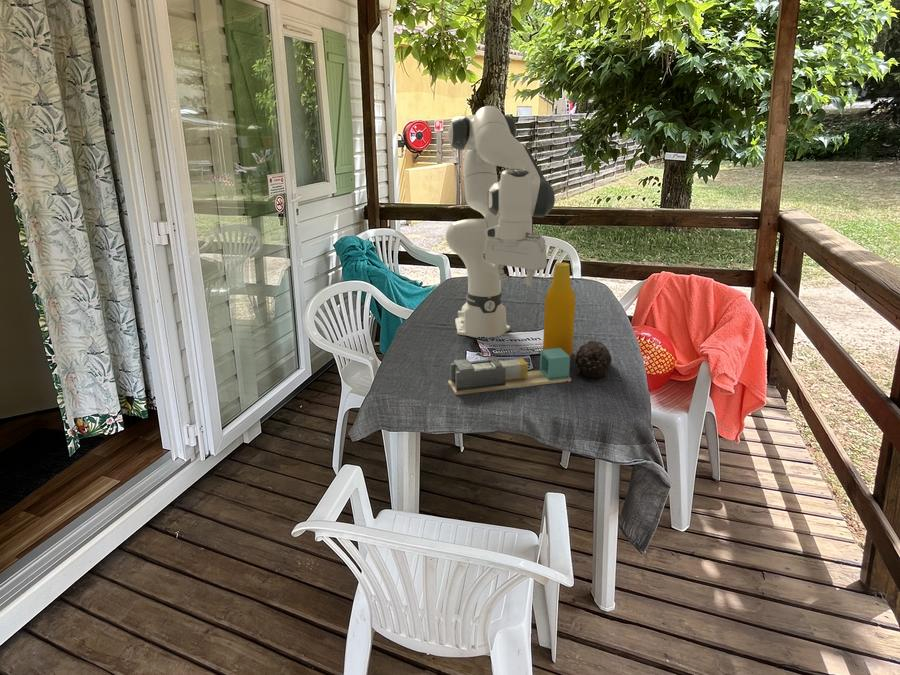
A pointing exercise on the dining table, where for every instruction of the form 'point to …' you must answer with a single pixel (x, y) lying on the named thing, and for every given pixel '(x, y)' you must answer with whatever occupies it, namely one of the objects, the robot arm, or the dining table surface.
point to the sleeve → (477, 374)
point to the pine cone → (593, 361)
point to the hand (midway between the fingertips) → (514, 282)
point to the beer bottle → (559, 311)
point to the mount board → (515, 383)
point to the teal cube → (554, 363)
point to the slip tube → (507, 368)
